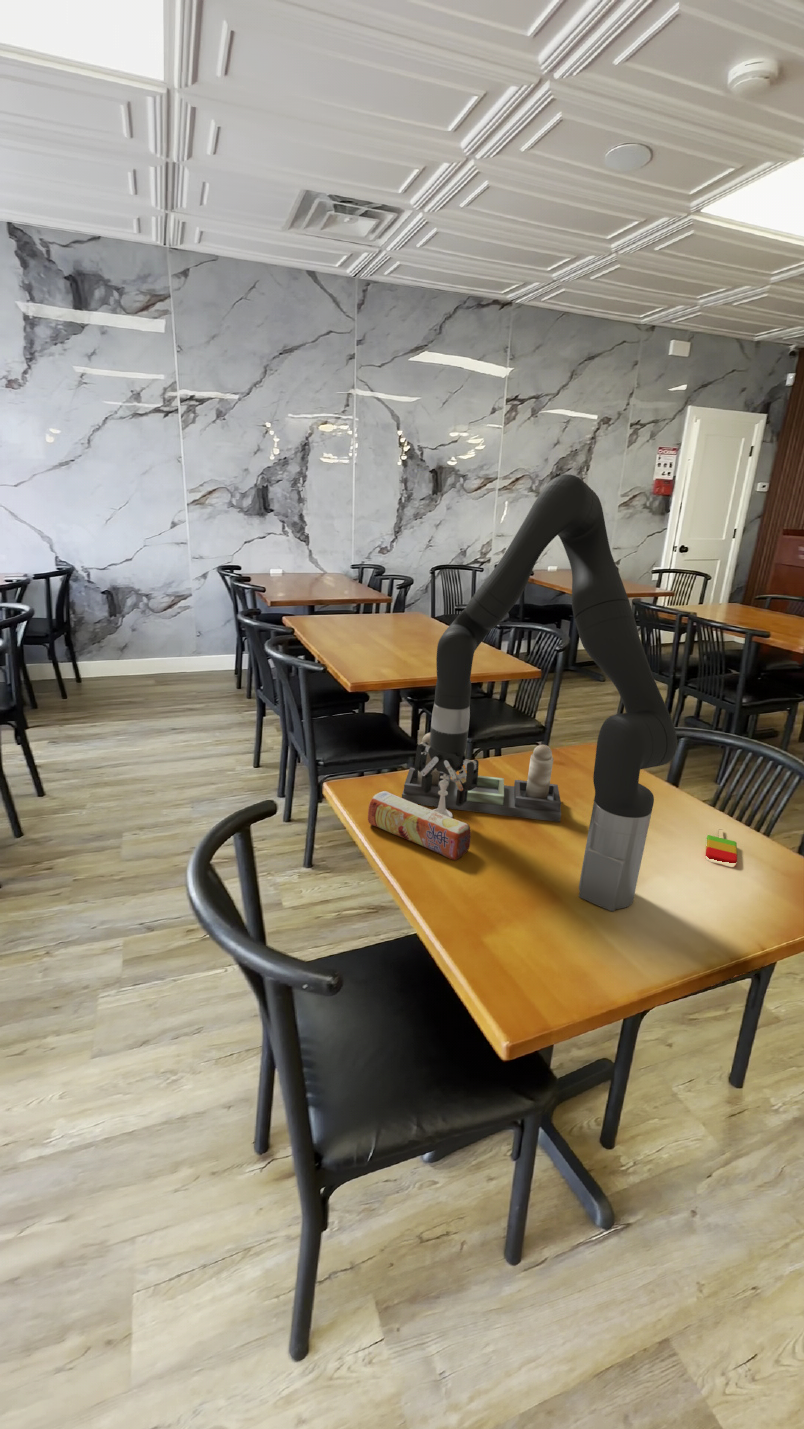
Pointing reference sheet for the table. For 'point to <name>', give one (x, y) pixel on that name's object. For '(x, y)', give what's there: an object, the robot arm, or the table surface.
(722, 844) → the popsicle
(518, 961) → the table surface
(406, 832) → the snack package
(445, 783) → the chess piece
